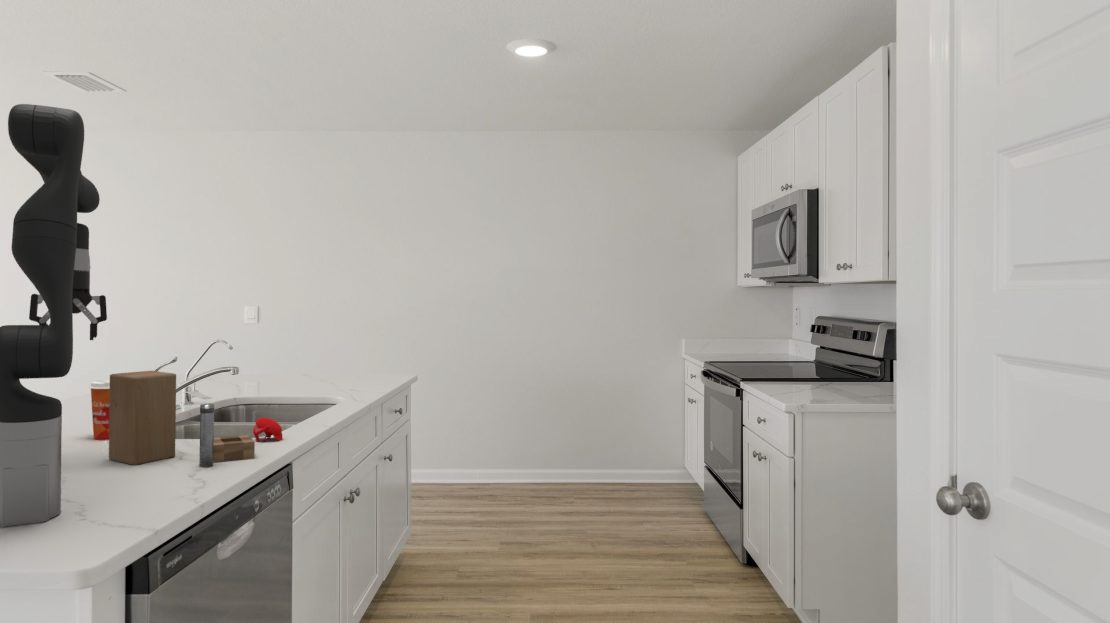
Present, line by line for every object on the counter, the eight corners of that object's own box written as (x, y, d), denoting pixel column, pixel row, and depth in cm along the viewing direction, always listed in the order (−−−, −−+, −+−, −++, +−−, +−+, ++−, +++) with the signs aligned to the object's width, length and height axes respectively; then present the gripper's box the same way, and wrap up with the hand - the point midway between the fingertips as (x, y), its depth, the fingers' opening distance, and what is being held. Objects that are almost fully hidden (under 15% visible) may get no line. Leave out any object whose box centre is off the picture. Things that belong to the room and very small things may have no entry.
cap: (245, 430, 176) (262, 419, 175) (254, 418, 182) (271, 408, 181) (264, 452, 179) (282, 442, 178) (273, 440, 184) (290, 430, 183)
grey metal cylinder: (214, 466, 152) (215, 405, 151) (199, 467, 150) (200, 405, 150) (212, 463, 154) (213, 403, 154) (198, 465, 153) (199, 404, 152)
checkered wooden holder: (254, 458, 160) (254, 441, 160) (212, 462, 155) (212, 445, 155) (248, 450, 168) (248, 434, 167) (207, 454, 163) (208, 438, 162)
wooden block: (107, 459, 155) (108, 373, 155) (150, 451, 164) (151, 370, 164) (133, 465, 150) (134, 377, 150) (176, 457, 159) (177, 373, 159)
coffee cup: (80, 439, 175) (81, 382, 175) (110, 433, 183) (110, 378, 182) (105, 442, 172) (105, 384, 172) (133, 436, 180) (134, 380, 180)
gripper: (28, 266, 145) (27, 341, 145) (107, 269, 153) (106, 340, 153) (31, 268, 151) (30, 339, 151) (107, 270, 159) (106, 339, 159)
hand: (68, 340), depth 152 cm, fingers open, 8 cm apart
